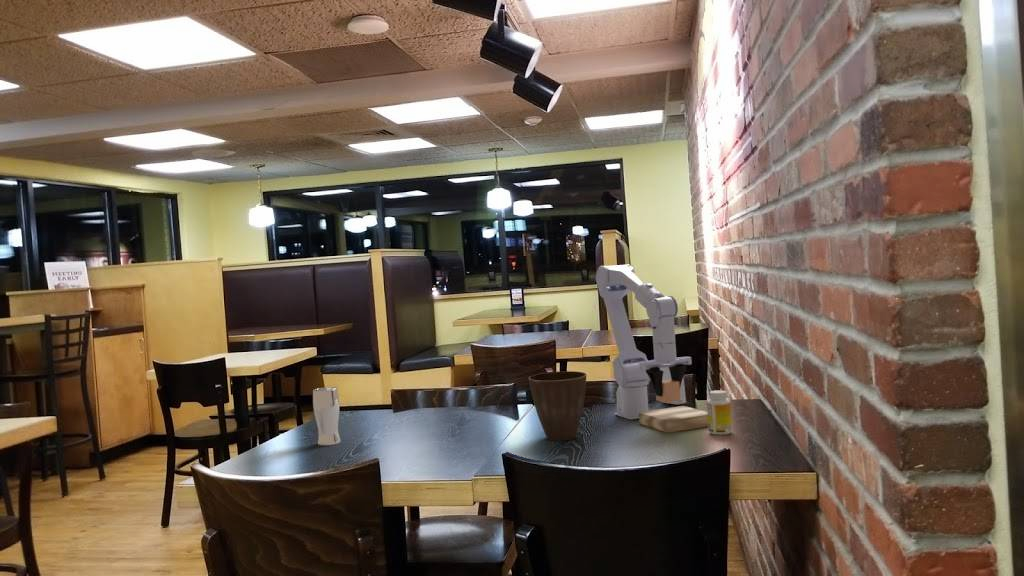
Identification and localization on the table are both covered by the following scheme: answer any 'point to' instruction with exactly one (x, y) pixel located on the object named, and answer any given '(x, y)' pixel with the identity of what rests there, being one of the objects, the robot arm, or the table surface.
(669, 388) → the terracotta block
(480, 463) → the table surface
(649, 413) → the maple base
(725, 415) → the supplement bottle
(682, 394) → the skincare box
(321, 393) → the beer glass
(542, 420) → the plant pot
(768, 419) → the table surface
